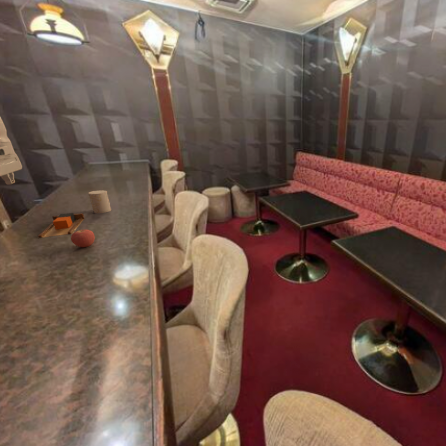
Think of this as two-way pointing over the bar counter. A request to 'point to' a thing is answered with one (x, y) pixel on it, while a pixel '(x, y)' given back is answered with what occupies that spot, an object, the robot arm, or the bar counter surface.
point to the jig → (55, 232)
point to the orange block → (62, 222)
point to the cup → (100, 201)
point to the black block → (68, 216)
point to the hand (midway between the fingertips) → (10, 183)
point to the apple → (83, 238)
